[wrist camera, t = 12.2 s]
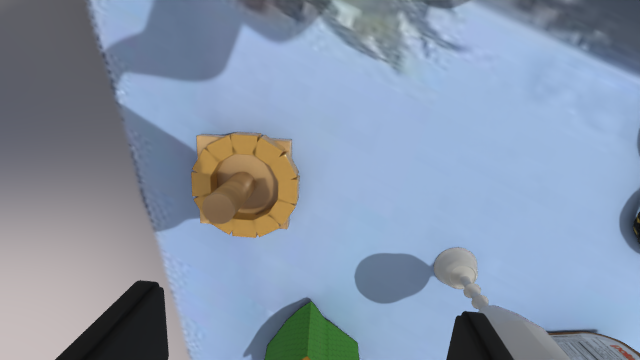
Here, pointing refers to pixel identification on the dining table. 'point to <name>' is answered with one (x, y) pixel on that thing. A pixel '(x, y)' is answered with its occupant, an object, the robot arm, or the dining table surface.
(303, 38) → the dining table surface
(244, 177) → the stand
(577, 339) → the tin
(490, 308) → the chalice
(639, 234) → the toy snake
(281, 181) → the ring
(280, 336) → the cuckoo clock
